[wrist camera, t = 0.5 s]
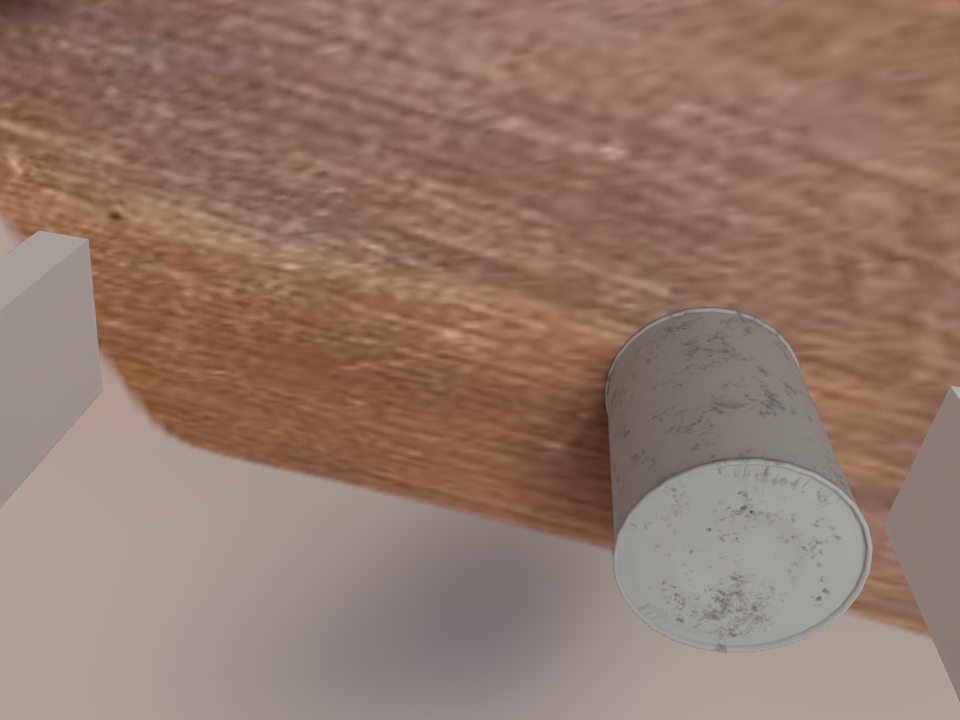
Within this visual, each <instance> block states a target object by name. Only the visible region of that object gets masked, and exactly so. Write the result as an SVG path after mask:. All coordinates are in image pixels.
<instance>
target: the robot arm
mask: <svg viewBox="0 0 960 720" xmlns="http://www.w3.org/2000/svg"><path fill="white" fill-rule="evenodd" d="M101 392H102V379H101V369H100V358H99V347H98V336H97V325H96V314H95V304H94V293H93V282H92V271H91V260H90V249H89V239H86V238H80V237H74V236H68V235H62V234H57V233H51V232H45V231H38V232H36V233H35V234H33V235H32V236H31V237H29V238H28V239H26V240H25V241H24V242H22V243H21V244H20V245H18V246H17V247H15V248H14V249H13V250H11V251H10V252H8V253H7V254H6V255H4V256H3V257H1V258H0V508H1V507H2V506H3V504H4V503H5V502H6V501H7V500H8V499H9V497H10V496H11V495H12V494H13V493H14V492H15V491H16V489H17V488H18V487H19V486H20V485H21V484H22V483H23V481H24V480H25V479H26V478H27V477H28V476H29V475H30V473H31V472H32V471H33V470H34V469H35V468H36V466H37V465H38V464H39V463H40V462H41V461H42V460H43V458H44V457H45V456H46V455H47V454H48V453H49V452H50V450H51V449H52V448H53V447H54V445H56V443H57V442H58V441H59V440H60V439H61V438H62V437H63V435H64V434H65V433H66V432H67V431H68V430H69V429H70V427H71V426H72V425H73V424H74V423H75V422H76V421H77V419H78V418H79V417H80V416H81V415H82V414H83V413H84V411H85V410H86V409H87V408H88V407H89V406H90V404H91V403H92V402H93V401H94V400H95V399H96V398H97V396H98V395H99V394H100V393H101ZM883 527H884V529H885V532H886V534H887V536H888V539H889V541H890V543H891V545H892V548H893V550H894V552H895V555H896V557H897V559H898V561H899V564H900V566H901V568H902V571H903V573H904V575H905V577H906V580H907V582H908V584H909V586H910V589H911V591H912V593H913V596H914V598H915V600H916V602H917V605H918V607H919V609H920V612H921V614H922V616H923V618H924V621H925V623H926V625H927V628H928V630H929V632H930V634H931V637H932V639H933V641H934V644H935V646H936V648H937V650H938V653H939V655H940V657H941V660H942V662H943V664H944V666H945V669H946V671H947V673H948V676H949V678H950V680H951V682H952V685H953V687H954V689H955V691H956V694H957V696H958V698H959V701H960V387H954V386H950V388H949V391H948V393H947V395H946V397H945V399H944V401H943V403H942V405H941V407H940V409H939V411H938V413H937V415H936V417H935V419H934V421H933V423H932V425H931V428H930V430H929V432H928V434H927V436H926V438H925V440H924V442H923V444H922V446H921V448H920V450H919V452H918V454H917V456H916V458H915V460H914V462H913V465H912V467H911V469H910V471H909V473H908V475H907V477H906V479H905V481H904V483H903V485H902V487H901V489H900V491H899V493H898V495H897V497H896V499H895V502H894V504H893V506H892V508H891V510H890V512H889V514H888V516H887V518H886V520H885V522H884V524H883Z"/></svg>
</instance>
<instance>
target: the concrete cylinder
mask: <svg viewBox="0 0 960 720" xmlns="http://www.w3.org/2000/svg"><path fill="white" fill-rule="evenodd" d="M605 400H606V411H607V413H608V424H609V444H610V464H611V483H612V503H613V523H614V543H615V544H614V549H613V567H614V577H615V580H616V583H617V585H618V587H619V590H620V593H621V596H622V597H623V599H624V600H625V601H626V603H627V604H628V605H629V607H630V608H631V609H632V611H633V612H634V614H635V615H636V616H637V617H639V618H640V619H641V620H642V621H643V622H645V623H646V624H647V625H648V626H649V627H650V628H652V629H653V630H655V631H657V632H658V633H661V634H662V635H664V636H666V637H668V638H670V639H672V640H673V641H676V642H679V643H682V644H685V645H688V646H692V647H695V648H698V649H704V650H711V651H718V652H725V653H727V652H728V653H729V652H756V651H762V650H767V649H773V648H779V647H782V646H785V645H788V644H791V643H794V642H796V641H800V640H802V639H805V638H807V637H809V636H811V635H812V634H814V633H816V632H818V631H820V630H822V629H823V628H825V627H827V626H828V625H829V624H831V623H832V622H833V621H834V620H836V619H837V618H838V617H839V616H840V615H842V614H843V613H844V612H845V611H846V610H847V609H848V608H849V607H850V605H851V604H852V603H853V601H854V600H855V599H856V598H857V596H858V595H859V594H860V592H861V591H862V589H863V586H864V584H865V581H866V579H867V577H868V574H869V572H870V568H871V559H872V550H873V546H872V542H871V537H870V532H869V527H868V524H867V522H866V520H865V518H864V517H863V515H862V513H861V511H860V509H859V508H858V506H857V504H856V502H855V500H854V498H853V496H852V493H851V491H850V488H849V486H848V484H847V481H846V479H845V477H844V474H843V472H842V470H841V467H840V465H839V462H838V460H837V458H836V455H835V453H834V451H833V448H832V446H831V444H830V441H829V439H828V436H827V434H826V432H825V429H824V427H823V425H822V422H821V420H820V418H819V415H818V413H817V410H816V408H815V406H814V403H813V401H812V399H811V396H810V394H809V392H808V389H807V387H806V384H805V382H804V380H803V377H802V375H801V372H800V367H799V363H798V360H797V358H796V357H795V355H794V353H793V351H792V349H791V347H790V346H789V344H788V343H787V342H786V340H785V339H784V338H783V337H782V336H781V335H780V334H779V333H778V332H777V331H776V330H775V329H774V328H772V327H771V326H769V325H767V324H766V323H764V322H763V321H761V320H759V319H758V318H756V317H753V316H751V315H748V314H745V313H742V312H739V311H736V310H730V309H723V308H715V307H708V308H694V309H687V310H683V311H679V312H676V313H672V314H668V315H666V316H664V317H662V318H660V319H658V320H656V321H654V322H652V323H650V324H648V325H646V326H645V327H644V328H642V329H641V330H640V331H639V332H637V333H636V334H635V335H634V336H632V337H631V338H630V339H629V340H628V341H627V343H626V344H625V345H624V346H623V348H622V349H621V350H620V351H619V352H618V354H617V355H616V357H615V359H614V361H613V364H612V366H611V368H610V370H609V372H608V377H607V382H606V387H605Z"/></svg>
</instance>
